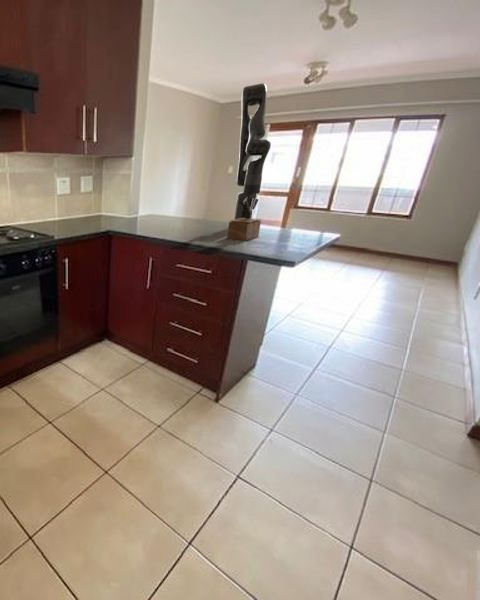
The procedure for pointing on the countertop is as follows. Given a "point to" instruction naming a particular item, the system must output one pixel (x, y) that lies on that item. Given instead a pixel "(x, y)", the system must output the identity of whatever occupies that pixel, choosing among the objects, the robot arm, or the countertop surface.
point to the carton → (243, 229)
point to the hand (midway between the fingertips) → (247, 218)
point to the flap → (249, 219)
